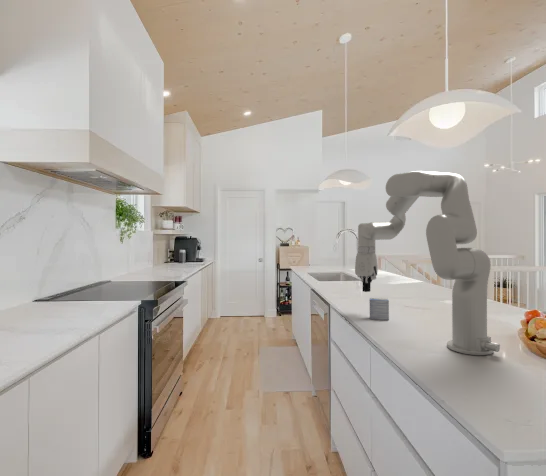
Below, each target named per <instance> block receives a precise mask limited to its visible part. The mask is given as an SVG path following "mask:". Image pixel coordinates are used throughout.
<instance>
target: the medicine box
mask: <svg viewBox="0 0 546 476" xmlns="http://www.w3.org/2000/svg"><path fill="white" fill-rule="evenodd" d="M389 302H390V301H389V298H388V297H387V298H386V297H369V320H377V321H378V320H380V321H389V320H390V311H389V310H390V307H389V306H390V303H389Z"/></svg>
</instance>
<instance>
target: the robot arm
mask: <svg viewBox="0 0 546 476" xmlns="http://www.w3.org/2000/svg"><path fill="white" fill-rule="evenodd" d="M385 192H386V194H387V195H388V196H389V198H388V200H386V202H385V207H386V210H387V212H388V213H390V214H391V215H393V217H392V218H391V219H390V220H389V221H387V222H386V221H385V222H384V221H379V222H378V221H375V222H374V221H372V222H367V223H366V222H365V223H359V224H358V225H357V253H356V256H355V262H354V263H355V264H354V272H355V276H356V277H358V278H359V279H360V280H361V283H362V292H365V293H368V292H371V283H372V281H373V280H374V281H375V280H377V276H378V273H379V269H378V258H377V254H376V241H378V240H381V241H382V240H385V241H386V240H393V239H394V238H396V237H397V236H398V235H399V234H400V233H401V232H402V230H403V229H404V227H405V225H406V221H407V220H406V219H407V218H406V213H407V212H408V211H409V209H410V208H411V207H413V204H414V203H416V201H417V200H418V199H419V197H425V198H426V197H428V198H441V197H442V198H441V202H440V210H441V213H442V214H436V215H434V216H432V217H431V218H430V219H429V221H428V222H427V224H426V229H425V237H426V242H427V246H428V251H429V255H430V260H431V264H432V268H433V271H434V273H436V274H435V275H437V276H438V277H439V278H441V279H443V280H447V281H448V280H449V281H451V280H455V281H454V282H453V283H454V284H453V286H452V291H451V306H452V307H451V309H452V310H451V317H452V318H451V321H452V322H451V324H452V326H451V327H452V333H451V334H452V335H451V336H452V339H450V340H448V341H447V342H446V346H447V348H448V349H449V350H452V351H453V352H457V353H460V354H465V355H472V356H489V355H492V354H493V353H494V352H496V353H498V352H500V348H501V345H500V343H497V342H492V337H490V336H488V282H489V278H490V272H491V267H492V266H491V260H490V257H489V255H488V254H487V253H486V252H485V251H484V250H482V249H479V248H477V247H476V248H475V247H457V246H458V245H467V244H470V243H472V242H474V241H475V240H476V238H477V237H478V236H477V235H478V228H477V224H476V220H475V216H474V213H473V209H472V205H471V201H470V196H469V189H468V184H467V181H466V179H465V178H464V177H463V176H462V175H460V174H459V173H453V172H440V171H426V170H416V171H415V170H413V171H408V172H402V173H401V172H400V173H396V174H392V176H391V177H389V178H388V179H387V181H386V184H385Z"/></svg>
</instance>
